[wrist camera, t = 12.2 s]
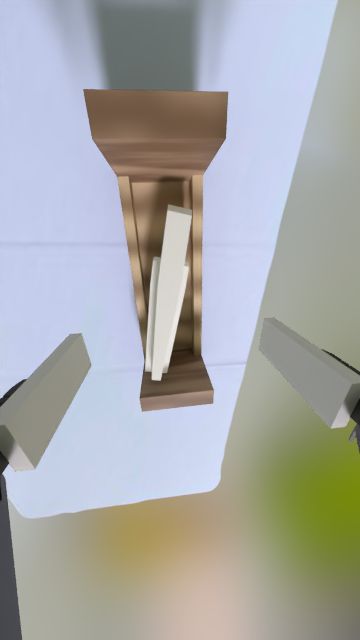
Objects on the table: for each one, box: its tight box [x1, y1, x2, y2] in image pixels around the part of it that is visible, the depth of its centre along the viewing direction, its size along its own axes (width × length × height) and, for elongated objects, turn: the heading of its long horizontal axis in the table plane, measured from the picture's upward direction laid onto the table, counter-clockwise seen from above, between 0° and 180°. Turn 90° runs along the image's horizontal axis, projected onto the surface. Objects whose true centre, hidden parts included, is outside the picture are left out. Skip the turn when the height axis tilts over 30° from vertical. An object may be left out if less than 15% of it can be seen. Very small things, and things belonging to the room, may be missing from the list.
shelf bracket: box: [145, 204, 192, 381], centre depth 31 cm, size 6×25×13 cm, turn 170°
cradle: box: [83, 89, 228, 412], centre depth 29 cm, size 37×12×14 cm, turn 2°
